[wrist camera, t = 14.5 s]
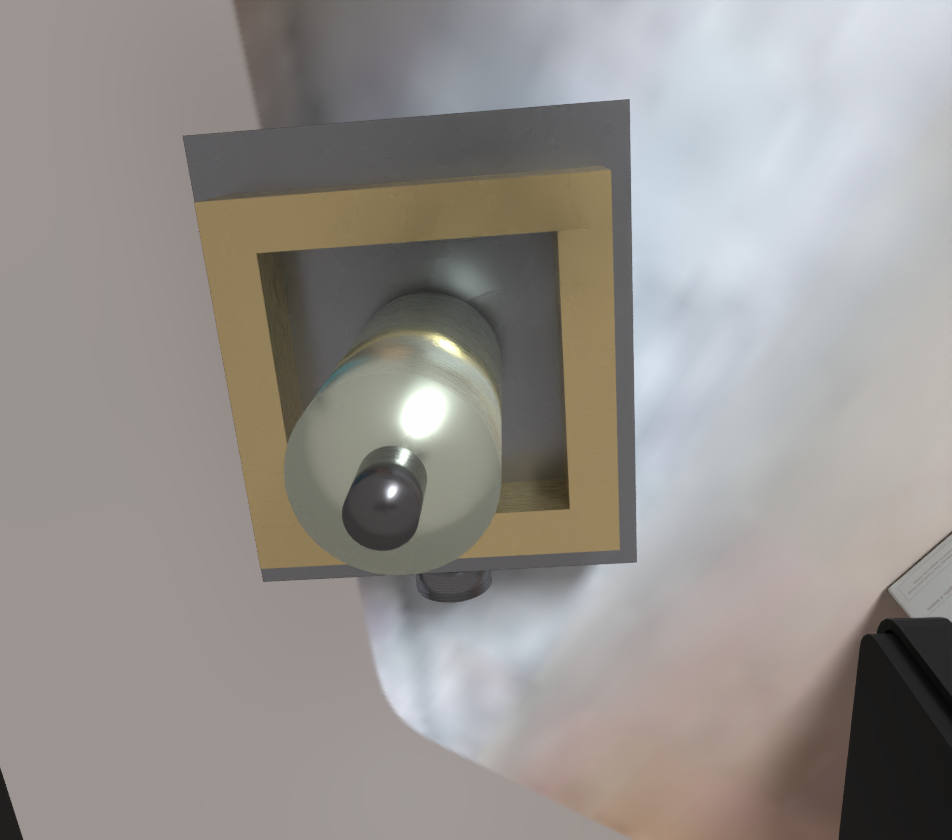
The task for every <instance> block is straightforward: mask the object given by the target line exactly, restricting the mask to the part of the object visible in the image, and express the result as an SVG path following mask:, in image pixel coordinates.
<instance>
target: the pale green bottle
mask: <svg viewBox="0 0 952 840" xmlns="http://www.w3.org/2000/svg"><path fill="white" fill-rule="evenodd" d="M501 449H502V359H501V351H500V347H499V344H498V341H497V339H496V336H495V334H494V332H493V330H492V329H491V327H490V325H489V324H488V323H487V321H486V320H485V319H484V318H483V317H482V316H481V315H480V314H479V313H478V312H477V311H476V310H475V309H474V308H472V307H471V306H470V305H468V304H466V303H465V302H463V301H461V300H459V299H457V298H454V297H452V296H448V295H444V294H440V293H432V292H422V293H414V294H410V295H406V296H402V297H400V298H398V299H395V300H393V301H391V302H390V303H388V304H386V305H385V306H384V307H382V308H381V309H380V310H379V311H378V312H377V313H376V314H375V315H374V316H373V317H372V318H371V319H370V321H369V322H368V323H367V325H366V326H365V327H364V329H363V330H362V332H361V333H360V334H359V336H358V337H357V339H356V340H355V341H354V343H353V344H352V346H351V347H350V348H349V350H348V351H347V353H346V354H345V355H344V357H343V358H342V360H341V361H340V362H339V364H338V365H337V367H336V368H335V369H334V371H333V372H332V374H331V375H330V376H329V378H328V379H327V381H326V382H325V383H324V385H323V386H322V388H321V389H320V390H319V392H318V393H317V395H316V396H315V397H314V399H313V400H312V402H311V403H310V404H309V406H308V407H307V409H306V410H305V411H304V413H303V414H302V416H301V417H300V418H299V420H298V421H297V423H296V425H295V427H294V429H293V431H292V433H291V436H290V438H289V441H288V444H287V448H286V453H285V458H284V480H285V487H286V492H287V496H288V499H289V502H290V505H291V507H292V510H293V512H294V514H295V516H296V517H297V519H298V521H299V523H300V524H301V526H302V527H303V528H304V530H305V531H306V533H307V534H308V535H309V536H310V537H311V538H312V539H313V540H314V541H315V542H316V543H317V544H318V545H319V546H320V547H321V548H322V549H324V550H325V551H326V552H327V553H329V554H330V555H332V556H333V557H335V558H336V559H338V560H340V561H342V562H344V563H346V564H348V565H350V566H353V567H355V568H358V569H361V570H364V571H368V572H372V573H376V574H384V575H411V574H418V573H423V572H427V571H431V570H434V569H436V568H439V567H442V566H444V565H446V564H448V563H450V562H452V561H454V560H455V559H457V558H458V557H460V556H461V555H463V554H464V553H465V552H467V551H468V550H469V549H470V548H471V547H472V546H473V545H474V544H475V543H476V542H477V541H478V540H479V539H480V537H481V536H482V535H483V534H484V532H485V531H486V529H487V528H488V526H489V525H490V523H491V521H492V518H493V516H494V514H495V512H496V509H497V505H498V502H499V499H500V492H501Z"/></svg>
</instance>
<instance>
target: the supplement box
mask: <svg viewBox="0 0 952 840" xmlns="http://www.w3.org/2000/svg"><path fill="white" fill-rule="evenodd" d="M888 591H889V593H890V594H891V595H892V597H893V598H894V599H895V600H896V602H897V603H898V604H899V605H900V606H901V608H902V609H903V610H904V611H905V612H906V613H907V615H908V616H909V617H910V618H924V617H943V618H947V619H949V620H950V621H951V622H952V534H951V535H950V536H949V537H947V538H946V539H945V540H944V541H943V542H942V543H940V544H939V545H938V546H937V547H936V548H935V549H934V550H932V551H931V552H930V553H929V554H928V555H927V556H925V557H924V558H923V559H922V560H921V561H920V562H918V563H917V564H916V565H915V566H914V567H913V568H911V569H910V570H909V571H908V572H907V573H906V574H905V575H903V576H902V577H901V578H900V579H899V580H898V581H896V582H895V583H894V584H893V585H892V586H891V587H889V589H888Z"/></svg>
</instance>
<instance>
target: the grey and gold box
mask: <svg viewBox="0 0 952 840" xmlns="http://www.w3.org/2000/svg"><path fill="white" fill-rule="evenodd" d="M183 141H184V146H185V152H186V157H187V162H188V168H189V174H190V179H191V185H192V190H193V196H194V201H195V202H194V204H195V210H196V215H197V221H198V226H199V232H200V237H201V243H202V248H203V254H204V259H205V265H206V270H207V276H208V282H209V287H210V293H211V298H212V304H213V309H214V314H215V320H216V326H217V331H218V336H219V342H220V348H221V353H222V359H223V364H224V370H225V375H226V381H227V386H228V391H229V397H230V403H231V408H232V414H233V419H234V425H235V431H236V436H237V442H238V447H239V453H240V458H241V464H242V469H243V475H244V480H245V486H246V491H247V497H248V502H249V507H250V512H251V519H252V524H253V530H254V535H255V541H256V546H257V552H258V557H259V562H260V568H261V571H262V577H263V581H264V582H267V581H286V580H306V579H323V578H324V579H325V578H344V577H364V576H383V575H384V574H376V573H372V572H368V571H364V570H361V569H358V568H355V567H353V566H350V565H348V564H346V563H344V562H342V561H340V560H338V559H336V558H335V557H333V556H332V555H330V554H329V553H327V552H326V551H325V550H324V549H322V548H321V547H320V546H319V545H318V544H317V543H316V542H315V541H314V540H313V539H312V538H311V537H310V536H309V535H308V534H307V533H306V531H305V530H304V528H303V527H302V526H301V524H300V523H299V521H298V519H297V517H296V516H295V514H294V512H293V510H292V507H291V505H290V502H289V499H288V496H287V492H286V487H285V480H284V458H285V453H286V448H287V444H288V441H289V438H290V436H291V433H292V431H293V429H294V427H295V425H296V423H297V421H298V420H299V418H300V417H301V416H302V414H303V413H304V411H305V410H306V409H307V407H308V406H309V404H310V403H311V402H312V400H313V399H314V397H315V396H316V395H317V393H318V392H319V390H320V389H321V388H322V386H323V385H324V383H325V382H326V381H327V379H328V378H329V376H330V375H331V374H332V372H333V371H334V369H335V368H336V367H337V365H338V364H339V362H340V361H341V360H342V358H343V357H344V355H345V354H346V353H347V351H348V350H349V348H350V347H351V346H352V344H353V343H354V341H355V340H356V339H357V337H358V336H359V334H360V333H361V332H362V330H363V329H364V327H365V326H366V325H367V323H368V322H369V321H370V319H371V318H372V317H373V316H374V315H375V314H376V313H377V312H378V311H379V310H380V309H381V308H382V307H384V306H385V305H386V304H388V303H390V302H391V301H393V300H395V299H398V298H400V297H402V296H406V295H410V294H414V293H422V292H432V293H440V294H444V295H448V296H452V297H454V298H457V299H459V300H461V301H463V302H465V303H466V304H468V305H470V306H471V307H472V308H474V309H475V310H476V311H477V312H478V313H479V314H480V315H481V316H482V317H483V318H484V319H485V320H486V321H487V323H488V324H489V325H490V327H491V329H492V330H493V332H494V334H495V336H496V339H497V341H498V344H499V347H500V351H501V359H502V449H501V492H500V499H499V502H498V505H497V509H496V512H495V514H494V516H493V518H492V521H491V523H490V525H489V526H488V528H487V529H486V531H485V532H484V534H483V535H482V536H481V537H480V539H479V540H478V541H477V542H476V543H475V544H474V545H473V546H472V547H471V548H470V549H469V550H468V551H467V552H465V553H464V554H463V555H461V556H460V557H458V558H457V559H455V560H454V561H452V562H450V563H448V564H446V565H444V566H442V567H439V568H436V569H434V570H431V571H427V572H423V573H418V574H416V581H417V588H418V591H419V593H420V594H421V595H422V596H424V597H426V598H428V599H430V600H433V601H438V602H460V601H465V600H469V599H472V598H475V597H477V596H479V595H481V594H482V593H484V592H485V591H486V590H487V589H488V588H489V587H490V585H491V581H492V579H491V570H500V569H519V568H538V567H558V566H577V565H596V564H616V563H635V562H637V548H636V484H635V420H634V356H633V292H632V228H631V164H630V100H629V99H625V100H613V101H601V102H589V103H577V104H564V105H552V106H540V107H528V108H516V109H503V110H491V111H479V112H467V113H455V114H443V115H430V116H418V117H406V118H394V119H382V120H370V121H357V122H345V123H333V124H321V125H309V126H297V127H284V128H272V129H260V130H248V131H236V132H225V133H212V134H199V135H187V136H183Z"/></svg>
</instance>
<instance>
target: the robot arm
mask: <svg viewBox="0 0 952 840" xmlns="http://www.w3.org/2000/svg"><path fill="white" fill-rule="evenodd" d="M0 840H23V838H22V834H21V832H20V828H19V825H18V822H17V819H16V816H15V812H14V809H13V806H12V803H11V800H10V797H9V794H8V791H7V787H6V784H5V781H4V778H3V775H2V772H1V769H0ZM839 840H952V622H951V621H950V620H949V619H947V618H943V617H924V618H894V619H885V620H883V621H882V622H881V623H880V625H879V627H878V630H877V634H867V635H865V636H864V637H863V639H862V640H861V645H860V651H859V660H858V669H857V678H856V687H855V696H854V705H853V714H852V723H851V732H850V741H849V750H848V759H847V768H846V777H845V786H844V795H843V804H842V813H841V822H840V831H839Z"/></svg>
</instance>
